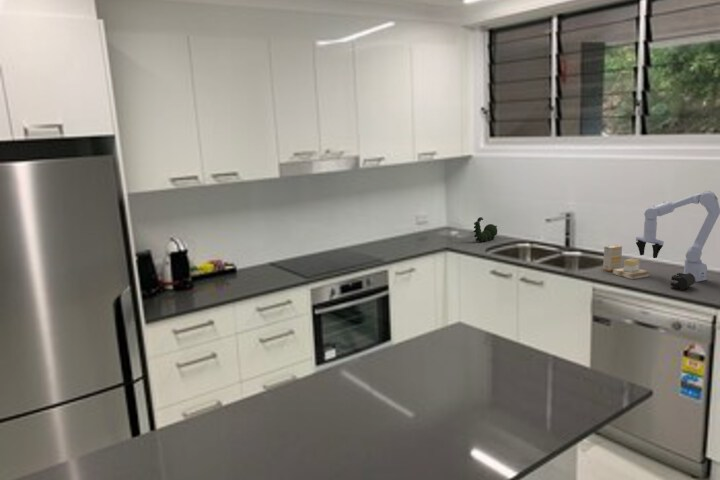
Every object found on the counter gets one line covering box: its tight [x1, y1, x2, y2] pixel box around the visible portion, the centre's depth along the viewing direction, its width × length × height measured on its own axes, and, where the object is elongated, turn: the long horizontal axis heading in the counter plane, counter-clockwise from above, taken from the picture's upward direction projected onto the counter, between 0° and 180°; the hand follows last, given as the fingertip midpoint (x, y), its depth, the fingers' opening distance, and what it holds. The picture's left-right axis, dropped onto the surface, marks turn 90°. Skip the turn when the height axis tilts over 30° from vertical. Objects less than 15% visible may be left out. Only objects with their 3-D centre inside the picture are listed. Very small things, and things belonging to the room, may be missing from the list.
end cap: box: [670, 272, 696, 291], centre depth 253 cm, size 10×7×7 cm
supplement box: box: [602, 244, 623, 272], centre depth 289 cm, size 8×5×13 cm, turn 111°
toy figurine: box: [473, 217, 498, 243], centre depth 375 cm, size 9×19×25 cm
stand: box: [612, 267, 650, 280], centre depth 278 cm, size 12×12×2 cm
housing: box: [622, 257, 640, 272], centre depth 278 cm, size 8×5×6 cm, turn 129°
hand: (648, 256), depth 279 cm, fingers open, 7 cm apart
